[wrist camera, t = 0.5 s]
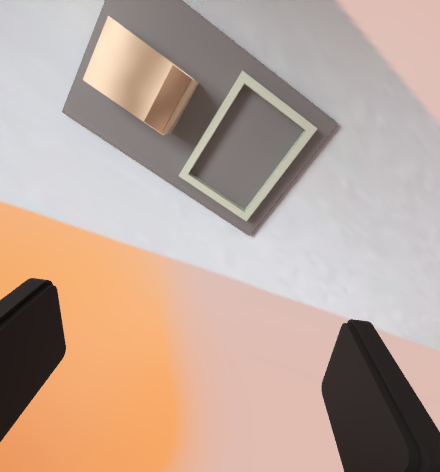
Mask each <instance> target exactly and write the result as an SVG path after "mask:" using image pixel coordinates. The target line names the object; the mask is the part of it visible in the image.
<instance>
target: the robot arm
mask: <svg viewBox="0 0 440 472" xmlns="http://www.w3.org/2000/svg"><path fill="white" fill-rule="evenodd" d="M65 350H66V345H65V339H64V332H63V325H62V319H61V312H60V305H59V299H58V292H57V288H56V286H53V284H52V282H51V281H49V280H43V279H35V278H31V279H28V280H27V281H25V282H24V283H23V284H21V285H20V286H19V287H17V288H16V289H15V290H13V291H12V292H11V293H9V294H8V295H7V296H5V297H4V298H3V299H1V300H0V442H1V440H2V439H3V438H4V436H5V435H6V434H7V432H8V431H9V430H10V428H11V427H12V426H13V424H14V423H15V422H16V420H17V419H18V418H19V416H20V415H21V414H22V412H23V411H24V410H25V408H26V407H27V406H28V404H29V403H30V402H31V400H32V399H33V398H34V396H35V395H36V394H37V392H38V391H39V390H40V388H41V387H42V386H43V384H44V383H45V381H46V380H47V379H48V377H49V376H50V374H51V373H52V372H53V371H54V369H55V368H56V367H57V365H58V364H59V363H60V361H61V360H62V358H63V357H64V354H65ZM322 395H323V398H324V402H325V406H326V409H327V412H328V415H329V420H330V423H331V426H332V430H333V434H334V436H335V441H336V444H337V447H338V451H339V454H340V458H341V461H342V465H343V468H344V472H440V432H439V431H438V429H437V427H436V426H435V424H434V422H433V421H432V419H431V417H430V416H429V414H428V413H427V411H426V409H425V408H424V406H423V405H422V403H421V401H420V400H419V398H418V397H417V395H416V393H415V392H414V390H413V389H412V387H411V386H410V384H409V382H408V381H407V379H406V378H405V377H404V375H403V373H402V371H401V370H400V368H399V366H398V365H397V363H396V362H395V360H394V358H393V357H392V355H391V354H390V352H389V350H388V349H387V347H386V346H385V344H384V342H383V341H382V339H381V338H380V336H379V335H378V333H377V331H376V330H375V328H374V326H373V325H372V324H371V323H370V322H368V321H360V320H352V319H351V320H349V321H348V323H344V324H342V326H341V329H340V332H339V335H338V338H337V341H336V344H335V347H334V350H333V352H332V355H331V358H330V361H329V364H328V367H327V370H326V373H325V376H324V379H323V382H322Z"/></svg>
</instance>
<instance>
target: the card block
mask: <svg viewBox="0 0 440 472" xmlns="http://www.w3.org/2000/svg"><path fill="white" fill-rule="evenodd" d="M83 80H84V81H85V82H86V83H88V84H89V85H91V86H92V87H94V88H95V89H97V90H98V91H100V92H101V93H102V94H104V95H105V96H107V97H108V98H110V99H111V100H113V101H114V102H115V103H117V104H118V105H120V106H121V107H123V108H124V109H126V110H127V111H129V112H130V113H131V114H133V115H134V116H136V117H137V118H139V119H140V120H142V121H143V122H144V123H146V124H147V125H149V126H150V127H152V128H153V129H155V130H156V131H158V132H159V133H160V134H162V135H167V134H171V133H172V131H173V129H174V127H175V126H176V124H177V122H178V120H179V119H180V117H181V115H182V113H183V111H184V110H185V108H186V106H187V104H188V102H189V101H190V99H191V97H192V95H193V93H194V92H195V90H196V88H197V86H198V84H199V83H198V82H197V81H196V80H195V79H193V78H192V77H191V76H189V75H188V74H187V73H185V72H184V71H182V70H181V69H180V68H178V67H177V66H176V65H174V64H173V63H172V62H170V61H169V60H168V59H166V58H165V57H164V56H162V55H161V54H160V53H158V52H157V51H156V50H154V49H153V48H151V47H150V46H149V45H147V44H146V43H145V42H143V41H142V40H141V39H139V38H138V37H137V36H135V35H134V34H133V33H131V32H130V31H129V30H127V29H126V28H124V27H123V26H122V25H120V24H119V23H118V22H116V21H115V20H114V19H112V18H111V17H110V16H108V17H107V20H106V22H105V25H104V27H103V30H102V32H101V35H100V37H99V40H98V42H97V45H96V47H95V50H94V52H93V55H92V57H91V60H90V62H89V65H88V67H87V70H86V72H85V75H84V77H83Z"/></svg>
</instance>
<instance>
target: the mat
mask: <svg viewBox="0 0 440 472" xmlns="http://www.w3.org/2000/svg"><path fill="white" fill-rule="evenodd" d="M108 16H110V17H111V18H112V19H114V20H115V21H116V22H118V23H119V24H120V25H122V26H123V27H124V28H126V29H127V30H129V31H130V32H131V33H133V34H134V35H135V36H137V37H138V38H139V39H141V40H142V41H143V42H145V43H146V44H147V45H149V46H150V47H151V48H153V49H154V50H156V51H157V52H158V53H160V54H161V55H162V56H164V57H165V58H166V59H168V60H169V61H170V62H172V63H173V64H174V65H176V66H177V67H178V68H180V69H181V70H182V71H184V72H185V73H187V74H188V75H189V76H191V77H192V78H193V79H195V80H196V81H197V82H198V83H199V84H198V86H197V88H196V90H195V92H194V93H193V95H192V97H191V99H190V101H189V102H188V104H187V106H186V108H185V110H184V111H183V113H182V115H181V117H180V119H179V120H178V122H177V124H176V126H175V127H174V129H173V131H172V133H171V134H167V135H162V134H160V133H159V132H158V131H156V130H155V129H153V128H152V127H150V126H149V125H147V124H146V123H144V122H143V121H142V120H140V119H139V118H137V117H136V116H134V115H133V114H131V113H130V112H129V111H127V110H126V109H124V108H123V107H121V106H120V105H118V104H117V103H115V102H114V101H113V100H111V99H110V98H108V97H107V96H105V95H104V94H102V93H101V92H100V91H98V90H97V89H95V88H94V87H92V86H91V85H89V84H88V83H86V82H85V81H84V80H83V77H84V75H85V72H86V70H87V67H88V65H89V62H90V60H91V57H92V55H93V52H94V50H95V47H96V45H97V42H98V40H99V37H100V35H101V32H102V30H103V27H104V25H105V22H106V20H107V17H108ZM242 70H243V71H244V72H245V73H246V74H248V75H249V76H250V77H252V78H253V79H254V80H255V81H257V82H258V83H259V84H261V85H262V86H263V87H265V88H266V89H267V90H268V91H270V92H271V93H272V94H274V95H275V96H276V97H277V98H279V99H280V100H281V101H283V102H284V103H285V104H287V105H288V106H289V107H290V108H292V109H293V110H294V111H296V112H297V113H298V114H300V115H301V116H302V117H303V118H305V119H306V120H307V121H309V122H310V123H311V124H312V125H314V126H315V127H316V128H318V129H317V130H316V131H315V133H314V134H313V135H312V137H311V138H310V139H309V140H308V142H307V143H306V144H305V146H304V147H303V148H302V150H301V151H300V152H299V154H298V155H297V156H296V157H295V159H294V160H293V161H292V163H291V164H290V165H289V167H288V168H287V169H286V171H285V172H284V173H283V174H282V176H281V177H280V178H279V180H278V181H277V182H276V184H275V185H274V186H273V187H272V189H271V190H270V191H269V193H268V194H267V195H266V197H265V198H264V199H263V201H262V202H261V203H260V204H259V206H258V207H257V208H256V210H255V211H254V212H253V214H252V215H251V216H250V218H249V219H248V220H247V221H245V220H243V219H242V218H240V217H239V216H237V215H236V214H234V213H233V212H232V211H230V210H229V209H227V208H226V207H224V206H223V205H221V204H220V203H218V202H217V201H215V200H214V199H212V198H211V197H209V196H208V195H206V194H205V193H203V192H202V191H200V190H199V189H197V188H196V187H194V186H193V185H191V184H190V183H188V182H187V181H185V180H184V179H182V178H181V177H179V174H180V173H181V171H182V169H183V168H184V166H185V164H186V163H187V161H188V159H189V158H190V156H191V154H192V153H193V151H194V149H195V148H196V146H197V145H198V143H199V141H200V140H201V138H202V136H203V135H204V133H205V131H206V130H207V128H208V126H209V125H210V123H211V121H212V120H213V118H214V116H215V115H216V113H217V112H218V110H219V108H220V107H221V105H222V103H223V102H224V100H225V98H226V97H227V95H228V93H229V92H230V90H231V88H232V87H233V85H234V84H235V82H236V80H237V79H238V77H239V75H240V74H241V72H242ZM62 112H63V113H64V114H66V115H67V116H69V117H70V118H72V119H73V120H75V121H76V122H78V123H79V124H81V125H82V126H84V127H85V128H87V129H88V130H90V131H92V132H93V133H95V134H96V135H98V136H99V137H101V138H102V139H104V140H105V141H107V142H108V143H110V144H111V145H113V146H114V147H116V148H117V149H119V150H120V151H122V152H123V153H125V154H126V155H128V156H129V157H131V158H132V159H134V160H135V161H137V162H138V163H140V164H141V165H143V166H144V167H146V168H147V169H149V170H151V171H152V172H154V173H155V174H157V175H158V176H160V177H161V178H163V179H164V180H166V181H167V182H169V183H170V184H172V185H173V186H175V187H176V188H178V189H179V190H181V191H182V192H184V193H185V194H187V195H188V196H190V197H191V198H193V199H194V200H196V201H197V202H199V203H200V204H202V205H203V206H205V207H206V208H208V209H210V210H211V211H213V212H214V213H216V214H217V215H219V216H220V217H222V218H223V219H225V220H226V221H228V222H229V223H231V224H232V225H234V226H235V227H237V228H238V229H240V230H241V231H243V232H244V233H246V234H247V235H249V236H250V234H251V233H252V232H253V231H254V229H255V228H256V227H257V226H258V224H259V223H260V222H261V220H262V219H263V218H264V217H265V215H266V214H267V213H268V212H269V210H270V209H271V208H272V207H273V205H274V204H275V203H276V201H277V200H278V199H279V198H280V196H281V195H282V194H283V193H284V191H285V190H286V189H287V188H288V186H289V185H290V184H291V182H292V181H293V180H294V179H295V177H296V176H297V175H298V174H299V172H300V171H301V170H302V169H303V167H304V166H305V165H306V163H307V162H308V161H309V160H310V158H311V157H312V156H313V155H314V153H315V152H316V151H317V150H318V148H319V147H320V146H321V144H322V143H323V142H324V141H325V139H326V138H327V137H328V136H329V134H330V133H331V132H332V131H333V129H334V128H335V127H336V125H337V124H338V123H337V122H336V121H334V120H333V119H332V118H330V117H329V116H328V115H327V114H325V113H324V112H323V111H322V110H320V109H319V108H318V107H316V106H315V105H314V104H313V103H311V102H310V101H309V100H308V99H306V98H305V97H304V96H303V95H301V94H300V93H299V92H297V91H296V90H295V89H294V88H292V87H291V86H290V85H289V84H287V83H286V82H285V81H283V80H282V79H281V78H280V77H278V76H277V75H276V74H275V73H273V72H272V71H271V70H269V69H268V68H267V67H266V66H264V65H263V64H262V63H261V62H259V61H258V60H257V59H256V58H254V57H253V56H252V55H250V54H249V53H248V52H247V51H245V50H244V49H243V48H242V47H240V46H239V45H238V44H236V43H235V42H234V41H233V40H231V39H230V38H229V37H228V36H226V35H225V34H224V33H223V32H221V31H220V30H219V29H217V28H216V27H215V26H214V25H212V24H211V23H210V22H209V21H207V20H206V19H205V18H203V17H202V16H201V15H200V14H198V13H197V12H196V11H195V10H193V9H192V8H191V7H189V6H188V5H187V4H186V3H184V2H183V1H182V0H105V2H104V5H103V7H102V10H101V12H100V15H99V18H98V20H97V23H96V25H95V28H94V30H93V33H92V36H91V38H90V41H89V43H88V46H87V49H86V51H85V54H84V56H83V59H82V61H81V64H80V67H79V69H78V72H77V74H76V77H75V80H74V82H73V85H72V87H71V90H70V92H69V95H68V98H67V100H66V103H65V105H64V108H63V110H62ZM303 131H304V130H303V129H302V128H301V127H299V126H298V125H297V124H295V123H294V122H293V121H291V120H290V119H289V118H288V117H286V116H285V115H284V114H282V113H281V112H280V111H278V110H277V109H276V108H274V107H273V106H272V105H271V104H269V103H268V102H267V101H265V100H264V99H263V98H261V97H260V96H259V95H257V94H256V93H255V92H253V91H252V90H251V89H250V88H248V87H247V86H246V85H244V86H243V87H242V89H241V90H240V92H239V94H238V95H237V97H236V99H235V100H234V102H233V103H232V105H231V107H230V108H229V110H228V111H227V113H226V115H225V116H224V118H223V119H222V121H221V123H220V124H219V126H218V128H217V129H216V131H215V132H214V134H213V136H212V137H211V139H210V140H209V142H208V144H207V145H206V147H205V148H204V150H203V152H202V153H201V155H200V157H199V158H198V160H197V161H196V163H195V165H194V166H193V168H192V169H191V171H190V173H192V174H193V175H194V176H196V177H197V178H199V179H200V180H202V181H203V182H205V183H206V184H208V185H209V186H211V187H212V188H214V189H215V190H217V191H218V192H220V193H221V194H223V195H224V196H225V197H227V198H228V199H230V200H231V201H233V202H234V203H236V204H237V205H239V206H240V207H242V208H243V209H246V207H247V206H248V205H249V203H250V202H251V201H252V199H253V198H254V197H255V195H256V194H257V193H258V191H259V190H260V189H261V187H262V186H263V185H264V183H265V182H266V181H267V179H268V178H269V177H270V175H271V174H272V173H273V171H274V170H275V169H276V167H277V166H278V165H279V163H280V162H281V161H282V159H283V158H284V157H285V155H286V154H287V153H288V151H289V150H290V149H291V147H292V146H293V145H294V143H295V142H296V141H297V139H298V138H299V137H300V135H301V134H302V133H303Z"/></svg>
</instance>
